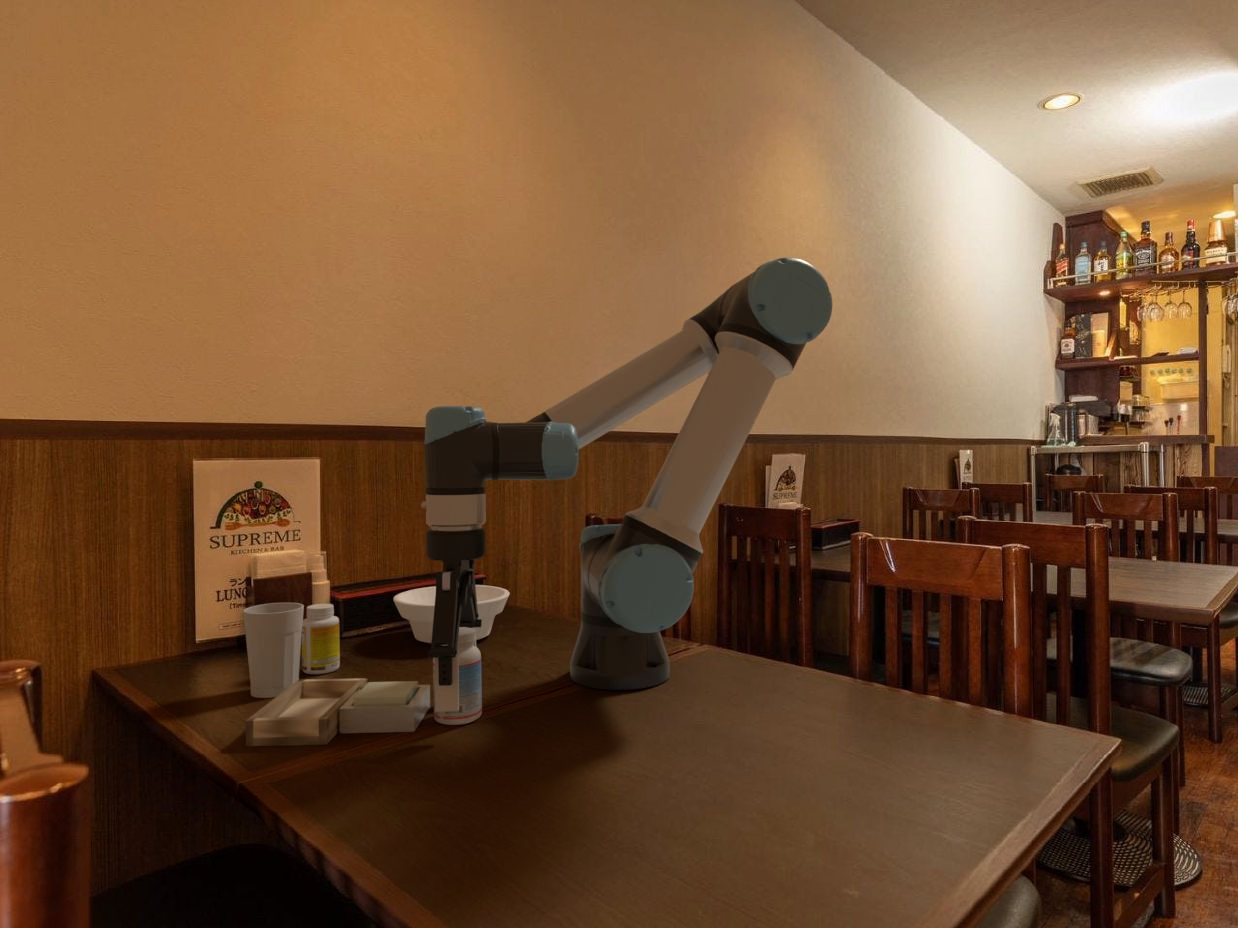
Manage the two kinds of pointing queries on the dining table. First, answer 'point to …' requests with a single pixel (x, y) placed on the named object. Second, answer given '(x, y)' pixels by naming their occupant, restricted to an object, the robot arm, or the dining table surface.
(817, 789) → the dining table surface
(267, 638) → the cup
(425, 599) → the bowl
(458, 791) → the dining table surface
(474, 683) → the pill bottle
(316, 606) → the supplement bottle
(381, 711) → the white note holder
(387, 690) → the pad
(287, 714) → the trough
